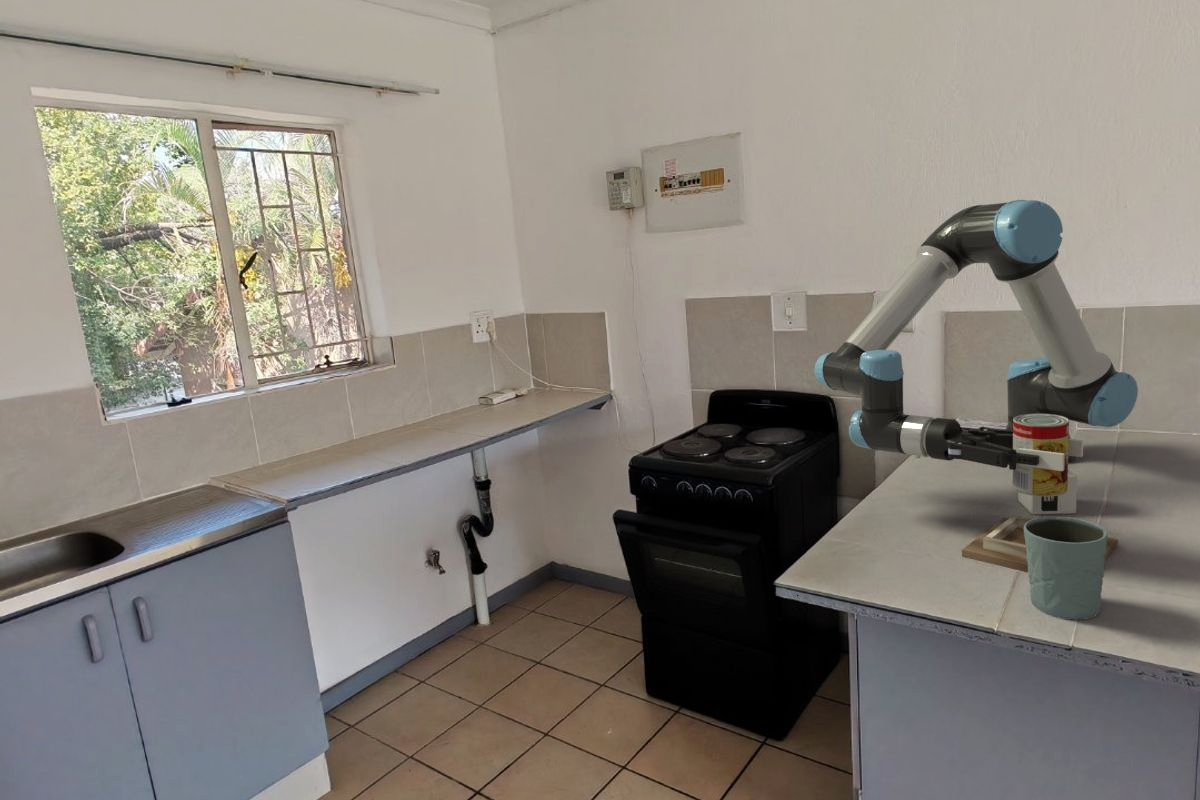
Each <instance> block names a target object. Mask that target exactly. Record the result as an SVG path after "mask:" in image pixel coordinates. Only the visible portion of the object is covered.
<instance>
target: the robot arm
mask: <svg viewBox="0 0 1200 800" xmlns="http://www.w3.org/2000/svg"><path fill="white" fill-rule="evenodd" d="M1063 229H1064V227H1063V223H1062V220H1061V217H1060V215H1059V214H1058V213H1057V211H1056V210H1055V209H1054V208H1053V207H1052V206H1050V205H1049V204H1048V203H1045V202H1043V201H1039V200H1035V199H1034V200H1033V199H1031V200H1028V199H1016V200H1011V201H1009V202H999V203H998V202H997V203H989V204H978V205H972V206H968V207H966V208H964V209H962V210H960V211H958V212H956V213H954V214H953V215H952V216H950V217H948V218H947V219H946V220H945V221H944V222H943V223H942V224H940V225H939V226H938V227H937V228H935V230H934V231H933V232H932V233H931V234H930V235H929V236H928V237H927V238H926V239H925V240H924V241H923V242H922V244H921V245H920V246H919V247H918V248H917V249H916V254H915V255H916V258H915V260H913V262H912V263H911V264H910V265H909V266H908V268H906V270H905V271H904V272H903V273H902V275H901V276H900V277H899V278H898V279H897V281H896V282H895V283H894V284H893V285H892V286H891V287H890V289H888V291H887V292H886V293H885V294H884V296H883V297H882V298H881V299H880V300H879V301H878V302H877V304H876V305H875V306H874V307H873V308H872V310H871V311H870V312H869V313H868V314H867V315H866V317H865V318H864V319H863V320H862V321H861V322H860V324H859V325H858V326H857V327H856V329H854V330H853V332H851V334H850V335H849V337H848V338H847V339H846V340H845V341H844V342H843V343H842V345H841V346H839V347H838V349H837V350H836V351H835V352H834V351H833V352H832V351H831V352H828V353H824V354H823V355H820V357H819V358H817V360H816V362H815V364H814V368H813V371H814V372H813V373H814V376H815V380H816V381H817V382H818V384H820V385H822V386H823V387H825V388H828V389H830V390H831V391H840V392H843V393H849V394H851V395H855V396H858V397H860V398H861V409H859V410H857V411H855V412H854V413H853V415H852V416H851V418H850V420H849V422H850V424H849V426H848V435H849V438H850V440H851V442H852V443H853V444H854V445H855V446H857V447H860V448H864V449H870V450H872V451H875V452H876V451H879V452H880V451H882V452H888V453H894V454H896V453H897V454H902V455H910V456H914V458H916V459H920V458H921V457H923V458H931V459H935V460H940V461H941V460H942V461H948V462H949V461H953V460H961V461H967V462H974V463H978V464H983V465H987V466H993V467H998V468H1003V469H1005V468H1008V469H1009V470H1011V471H1013V470H1015V469H1016V463H1018V465H1022V466H1029V467H1036V468H1043V469H1050V470H1057V471H1064V456H1065V454H1064V453H1056V452H1048V451H1040V450H1032V449H1024V448H1019V449H1018V453H1016V450H1015V449H1013V419H1014V417H1016V416H1020V415H1025V414H1052V415H1059V416H1063V417H1066V418H1068V420H1069V421H1073V422H1076V423H1080V424H1085V425H1089V426H1093V427H1097V426H1098V427H1105V428H1109V427H1110V428H1111V427H1115V426H1118V425H1120V424H1121V423H1123V422H1124V421H1125V420H1126V419H1127V418H1128V417H1129V416H1130V414H1131V413H1132V411H1133V410H1134V408H1135V406H1136V402H1137V400H1138V393H1139V388H1138V383H1137V381H1136V378H1135V377H1134V376H1133V375H1131V374H1129V373H1127V372H1125V371H1124V372H1123V371H1120V372H1118V371H1117V370H1116V368H1115V367H1114V365H1113V363H1112V361H1111V358H1110V357H1109V356H1108V355H1107V354H1106V353H1104V352H1101V351H1097V349H1096V347H1095V345H1094V343H1093V341H1092V339H1091V336H1090V334H1089V332H1088V331H1087V328H1086V327H1085V324H1084V322H1083V320H1082V318H1081V315H1080V313H1079V311H1078V309H1077V308H1076V306H1075V303H1074V301H1073V299H1072V297H1071V295H1070V293H1069V290H1068V288H1067V287H1066V285H1065V282H1064V281H1063V278H1062V277H1061V274H1060V272H1059V270H1058V268H1057V266H1056V264H1055V263H1056V260H1057V259H1058V257H1059V253H1060V251H1059V249H1060V246H1061V244H1062V241H1063V237H1062V236H1061V234H1062V233H1063V232H1064V230H1063ZM973 264H987V265H988V266H989V268H990V269H991V271H992V273H993V275H994V277H995V278H996V280H998V282H1002V283H1007V284H1008V285H1009V287H1010V289H1011V291H1012V293H1013V295H1014V298H1015V299H1016V301H1017V302H1018V305H1019V307H1020V309H1021V311H1022V313H1023V315H1024V317H1025V319H1026V320H1027V322H1028V324H1029V326H1030V329H1031V331H1032V332H1033V334H1034V336H1035V338H1036V340H1037V342H1038V344H1039V346H1040V347H1041V350H1042V352H1043V354H1044V356H1042V357H1033V358H1025V359H1020V360H1016V361H1013V362H1011V363H1010V364H1009V366H1008V375H1007V379H1006V381H1007V424H1006V427H1005V429H1004V428H993V427H987V426H980V427H978V428H979V429H975V428H973V429H972V428H970V429H967V430H964V429H962V426H961V424H960V422H958V421H957V420H956V419H951V418H942V417H936V418H935V417H933V416H926V415H916V414H915V415H913V414H905V413H904V373H905V372H904V369H903V361H902V360H903V359H902V354H901V353H900V352H899V351H897V350H892V349H889V347H890V346H891V345H892V344H893V343H894V341H895V340H896V339H897V338H898V337H899V336H900V334H902V332H903V331H904V330H905V329H906V327H907V326H908V325H909V324H910V323H911V321H912V320H913V319H914V318H915V317H916V316H917V314H918V313H920V311H921V310H922V308H923V307H925V305H927V303H928V302H929V301H930V299H931V298H932V297H933V295H935V294H936V292H937V291H938V290H939V289H940V287H942V285H943V284H944V283H945V282H946V280H950V279H951V280H952V279H954V278H956V277H957V275H958V274H959V273H960V272H961V271H962V270H963V269H965V268H967V267H968V266H970V265H973ZM1083 456H1084V439H1083V440H1082V439H1073V438H1071V435H1070V433H1069V445H1068V462H1070V461H1072V460H1073V459H1074V458H1075V457H1076V458H1082V457H1083Z"/></svg>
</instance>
